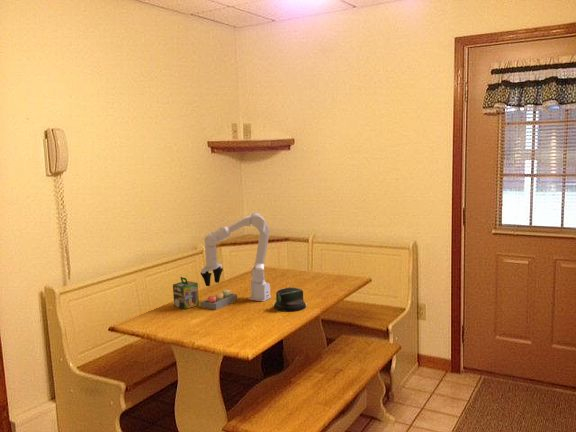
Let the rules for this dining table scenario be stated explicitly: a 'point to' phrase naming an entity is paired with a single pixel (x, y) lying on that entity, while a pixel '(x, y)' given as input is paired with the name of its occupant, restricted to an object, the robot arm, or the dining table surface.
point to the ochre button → (219, 296)
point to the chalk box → (185, 294)
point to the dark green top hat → (289, 300)
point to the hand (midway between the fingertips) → (212, 284)
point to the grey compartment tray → (219, 302)
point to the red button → (212, 299)
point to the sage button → (226, 293)
